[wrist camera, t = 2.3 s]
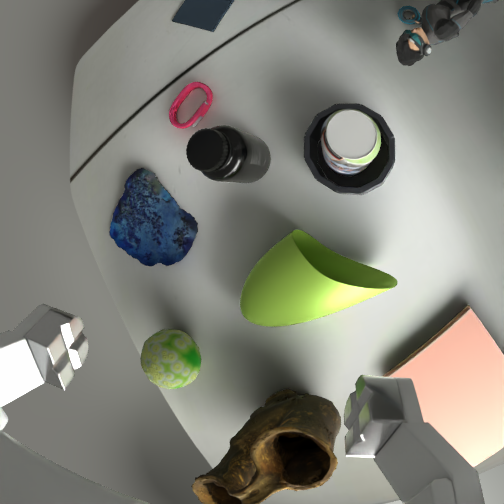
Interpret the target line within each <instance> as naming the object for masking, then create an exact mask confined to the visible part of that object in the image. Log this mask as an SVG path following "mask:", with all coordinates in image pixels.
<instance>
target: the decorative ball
mask: <svg viewBox="0 0 504 504" xmlns="http://www.w3.org/2000/svg"><path fill="white" fill-rule="evenodd" d="M141 366H142V368H143V370H144V372H145V374H146V375H147V377H148V379H149V380H151V382H153V383H154V384H155V385H158V386H159V387H162V388H165V389H175V388H180V387H183V386H186V385H188V384H190V383H191V382H192V381H193V380H195V378H196V376H197V374H198V373H199V371H200V366H201V355H200V350H199V347H198V346H197V344H196V343H195V342H194V341H193V339H192V338H191V337H190V336H189V335H188V334H186V333H184V332H183V331H180V330H174V329H168V330H160V331H159V332H157V333H155V334H154V335H152V336H151V337H150V338H148V339H147V340H146V341H145V343H144V346H143V349H142V353H141Z"/></svg>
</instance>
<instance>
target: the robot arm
mask: <svg viewBox="0 0 504 504" xmlns="http://www.w3.org/2000/svg"><path fill="white" fill-rule="evenodd" d="M83 329H84V325H83V321H82V319H81V318H80V317H78V316H75V315H72V314H70V313H67V312H64V311H62V310H59V309H56V308H53V307H50V306H48V305H45V304H41V305H39V306H38V307H37V308H36V309H34V310H33V311H32V312H31V313H30V314H29V315H28V316H27V317H26V318H25V319H24V320H23V321H22V322H21V323H20V324H19V325H18V326H17V327H16V328H15V329H14V330H13V331H12V332H11V331H6V332H3V333H0V504H150V503H147V502H144V501H141V500H138V499H136V498H133V497H130V496H127V495H125V494H122V493H119V492H117V491H114V490H112V489H109V488H107V487H105V486H102V485H100V484H98V483H95V482H93V481H91V480H89V479H86V478H84V477H82V476H80V475H77V474H76V473H73V472H72V471H70V470H68V469H66V468H64V467H62V466H60V465H58V464H56V463H54V462H53V461H51V460H49V459H47V458H45V457H44V456H42V455H40V454H38V453H36V452H35V451H33V450H31V449H30V448H28V447H26V446H25V445H23V444H22V443H20V442H18V441H17V440H15V439H14V438H12V437H11V436H9V435H8V434H6V433H5V432H3V431H2V429H3V427H4V426H5V425H6V423H7V422H8V417H7V415H6V414H5V412H4V411H3V409H2V408H1V407H2V406H4V405H5V404H7V403H9V402H11V401H12V400H14V399H16V398H18V397H20V396H21V395H23V394H25V393H27V392H28V391H30V390H32V389H34V388H35V387H37V386H39V385H41V384H42V383H44V381H45V382H47V383H49V384H52V385H54V386H56V387H58V388H61V389H63V390H65V389H66V387H67V386H68V384H69V383H70V382H71V380H72V379H73V377H74V375H75V374H74V369H76V368H78V367H81V366H82V365H83V363H84V362H85V360H86V357H87V354H88V345H89V344H88V340H87V338H86V337H85V335H84V334H83V333H82V330H83ZM355 385H356V391H354V392H353V393H351V394H350V396H349V398H348V400H347V402H346V406H345V410H344V425H345V426H346V427H347V428H348V429H349V431H348V433H347V434H346V436H345V449H346V456H353V457H374V458H373V459H374V461H375V462H376V464H377V465H378V467H379V468H380V470H381V471H382V473H383V474H384V476H385V477H386V479H387V480H388V482H389V483H390V485H391V486H392V488H393V489H394V491H395V492H396V494H397V495H398V497H399V498H400V500H401V501H402V502H403V504H485V503H484V498H483V493H482V489H481V485H480V480H479V476H478V472H477V471H476V470H475V469H474V468H473V467H472V466H471V465H470V464H469V463H468V462H467V461H466V460H465V459H464V458H463V457H462V456H461V455H460V454H459V453H458V452H457V451H456V449H455V448H454V447H453V446H452V445H451V444H450V443H449V442H448V441H447V440H446V439H445V438H444V437H443V436H442V435H441V434H440V433H439V432H438V431H437V430H436V429H435V428H434V427H433V426H432V425H431V424H430V423H429V422H424V420H423V416H422V412H421V408H420V405H419V401H418V398H417V394H416V390H415V387H414V384H413V381H412V379H411V378H400V377H394V378H393V377H383V376H369V375H361V376H360V377H359V378H358V380H357V382H356V384H355Z"/></svg>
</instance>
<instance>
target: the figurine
mask: <svg viewBox="0 0 504 504" xmlns="http://www.w3.org/2000/svg"><path fill="white" fill-rule="evenodd" d="M497 1H498V0H441V1H440V2H439V3H438V4H436V5H435V4H430V5H428V6H426V7H425V8H424V10H423V12H422V18H421V17H420V13H419V12H418V10H417V9H416V8H414V7H411V6H403V7H402V8H400V9H399V11H398V17H399V19H400V20H401V21H402V22H404V23H406V24H415V23H418V24H422V28H414V29H413V30H405V31H404V32H403V34H402V35H401V36H400V38H399V41H398V42H397V43H396V51H397V52H396V53H397V56H398V59H399V62H400V63H401V64H403V65H408V66H411V65H413V64H414V63H415V62H416V61H419V60H421V59H422V58H423V57H424V55H425V56H428V55H429V54H430V52H431V46H430V45H436V44H439V43H442V42H444V41H448V40H450V39H452V38H455V37H458V36H459V33H458V31H459V30H460V29H461V28H463V27H464V26H465V25H466V24H467V22H468V20H469V19H471V18H472V17H474V16H475V15H476V14H477V13H478V11H479V9H480V6H481V3H490V2H497ZM405 11H412V12H413V13H414V15H412V19H410V18H409V19H406V18H405V17H404V15H403V14H404V12H405Z"/></svg>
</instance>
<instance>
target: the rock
mask: <svg viewBox="0 0 504 504" xmlns="http://www.w3.org/2000/svg"><path fill="white" fill-rule="evenodd" d="M157 179H158V178H157V177H155V173H152V172H150V171H148V170H145V169H144V168H141V169H137V170H136V171H135V172H133V173H132V175H130V176H129V178H128V179H127V180H126V183H125V190H124V193H123V196H122V197H121V198H120V200H119V202H118V205H117V207H116V209H115V211H114V213H113V218H112V222H111V226H110V236H111V238H112V239H114V241H115V243H116V244H117V246H118V247H119V248H122V249H123V250H125V251H126V252H127V254H129V255H131V256H132V257H133V258H135V259H138V260H139V261H140V262H141V263H142V264H144V265H146V266H154V265H155V264H157V263H162V264H163V265H166V266H169V265H172V264H175V263H176V262H179V261H181V260H182V259H183V258H184V256H186V254H187V253H188V251H189V250H190V248H191V246H192V243H193V241H194V239H195V236H196V233H197V232H198V228H197V224H198V223H197V222H196V221H195V218H194V217H192V215H191V214H189V213H187V212H186V211H184V210H183V209H180V208H179V205H177V202H176V201H175V200H173V199H174V198H172V197H170V194H169V193H168V192H167V190H164V187H162V184H160V183H159V181H158V180H157Z"/></svg>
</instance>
